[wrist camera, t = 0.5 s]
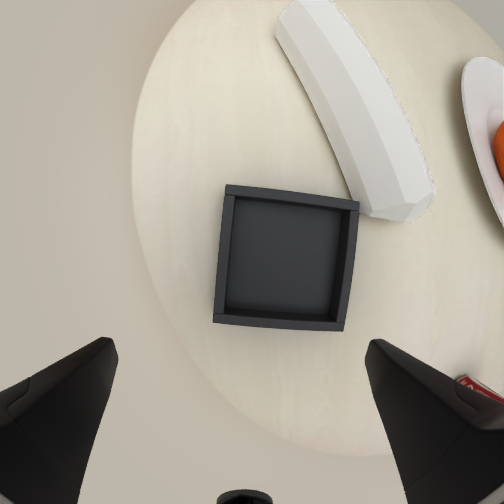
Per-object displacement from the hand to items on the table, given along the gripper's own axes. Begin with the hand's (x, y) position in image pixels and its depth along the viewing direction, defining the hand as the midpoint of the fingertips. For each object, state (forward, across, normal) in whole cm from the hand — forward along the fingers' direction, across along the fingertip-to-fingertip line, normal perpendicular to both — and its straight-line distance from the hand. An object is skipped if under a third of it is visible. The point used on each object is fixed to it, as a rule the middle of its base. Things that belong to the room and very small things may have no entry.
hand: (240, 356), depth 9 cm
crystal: (+19, -10, -12) cm, 24 cm away
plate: (+19, -37, -12) cm, 44 cm away
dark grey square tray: (+15, -4, +2) cm, 15 cm away
